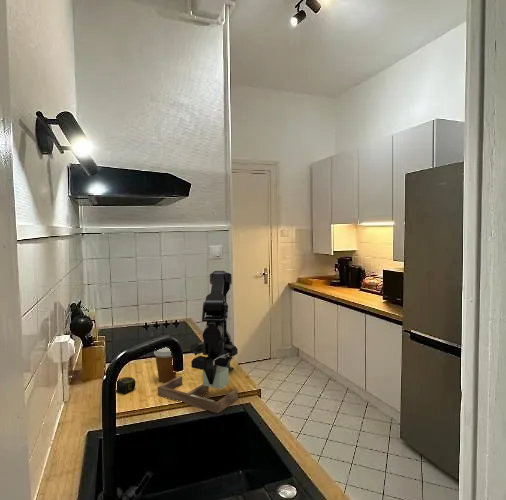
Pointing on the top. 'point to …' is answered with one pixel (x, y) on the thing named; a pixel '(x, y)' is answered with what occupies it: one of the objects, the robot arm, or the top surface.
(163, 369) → the disposable coffee cup
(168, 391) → the walnut comb rail
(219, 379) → the frame block
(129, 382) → the tape measure
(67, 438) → the top surface
